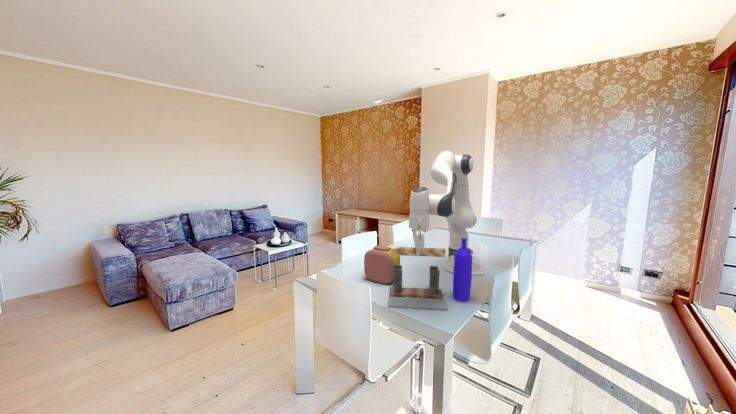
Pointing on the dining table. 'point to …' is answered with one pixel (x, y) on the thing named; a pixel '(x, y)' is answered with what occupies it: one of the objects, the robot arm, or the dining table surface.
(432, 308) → the mat
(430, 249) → the rail
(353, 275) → the dining table surface
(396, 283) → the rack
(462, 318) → the dining table surface
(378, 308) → the dining table surface
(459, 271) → the bottle
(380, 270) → the alarm clock
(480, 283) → the dining table surface
